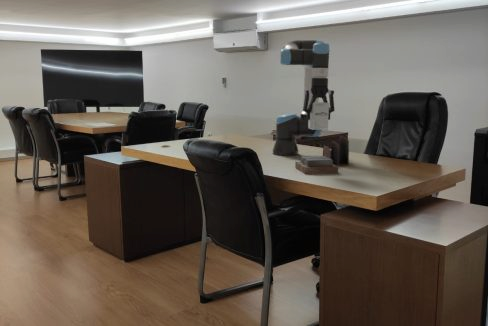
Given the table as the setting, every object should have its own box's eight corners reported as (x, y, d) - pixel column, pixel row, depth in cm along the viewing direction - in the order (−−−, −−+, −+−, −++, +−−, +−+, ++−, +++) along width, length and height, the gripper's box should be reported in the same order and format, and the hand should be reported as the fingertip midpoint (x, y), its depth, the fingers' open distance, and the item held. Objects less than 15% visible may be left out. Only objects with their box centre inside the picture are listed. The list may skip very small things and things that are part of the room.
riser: (295, 167, 235) (295, 155, 234) (326, 167, 237) (326, 155, 236) (304, 174, 219) (305, 161, 218) (337, 173, 222) (338, 160, 221)
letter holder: (340, 160, 261) (341, 134, 259) (348, 166, 241) (350, 138, 239) (322, 160, 261) (323, 134, 258) (329, 166, 241) (330, 138, 239)
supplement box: (313, 130, 221) (314, 102, 218) (308, 128, 228) (309, 101, 226) (328, 129, 222) (329, 102, 220) (322, 128, 229) (323, 101, 227)
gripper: (301, 77, 215) (299, 127, 219) (343, 77, 219) (341, 127, 223) (296, 77, 223) (295, 126, 227) (337, 77, 226) (335, 125, 230)
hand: (318, 126), depth 225 cm, fingers closed on supplement box, 7 cm apart
